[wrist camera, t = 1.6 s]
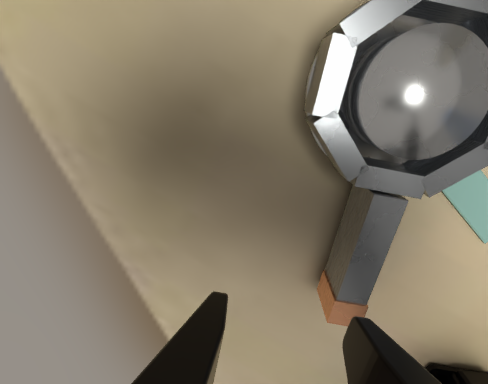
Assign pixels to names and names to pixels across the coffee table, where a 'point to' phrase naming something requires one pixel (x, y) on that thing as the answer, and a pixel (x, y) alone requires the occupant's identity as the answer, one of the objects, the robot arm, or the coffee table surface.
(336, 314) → the grey octagonal frying pan
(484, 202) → the align mark
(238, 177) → the coffee table surface
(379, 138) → the grey metal bowl
